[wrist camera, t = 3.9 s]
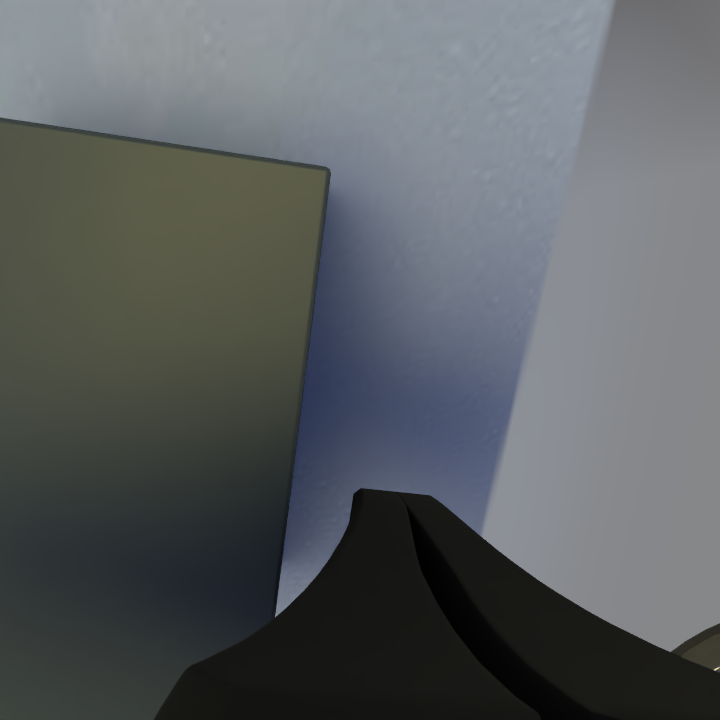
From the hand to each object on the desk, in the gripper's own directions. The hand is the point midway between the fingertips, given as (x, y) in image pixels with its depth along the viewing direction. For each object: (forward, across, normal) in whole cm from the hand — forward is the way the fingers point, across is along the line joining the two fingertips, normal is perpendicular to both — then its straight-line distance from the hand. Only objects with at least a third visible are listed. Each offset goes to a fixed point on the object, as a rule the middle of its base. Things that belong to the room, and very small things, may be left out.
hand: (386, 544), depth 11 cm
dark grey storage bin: (+8, +6, 0) cm, 10 cm away
